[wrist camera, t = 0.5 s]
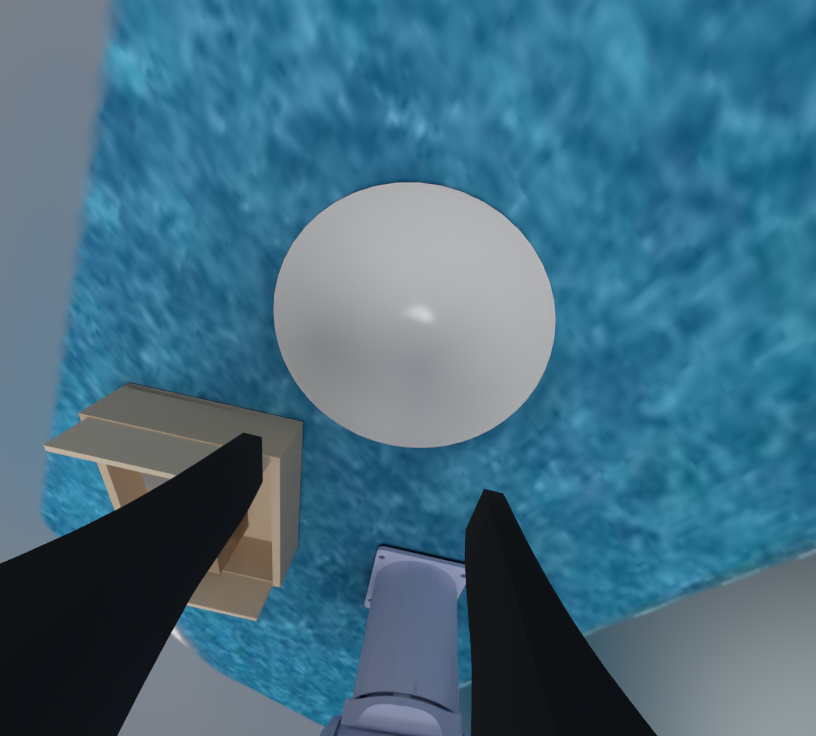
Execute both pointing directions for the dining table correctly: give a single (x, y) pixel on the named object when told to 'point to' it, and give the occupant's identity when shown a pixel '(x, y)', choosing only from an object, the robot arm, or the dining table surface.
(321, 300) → the plate
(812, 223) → the dining table surface
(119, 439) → the wooden tray
